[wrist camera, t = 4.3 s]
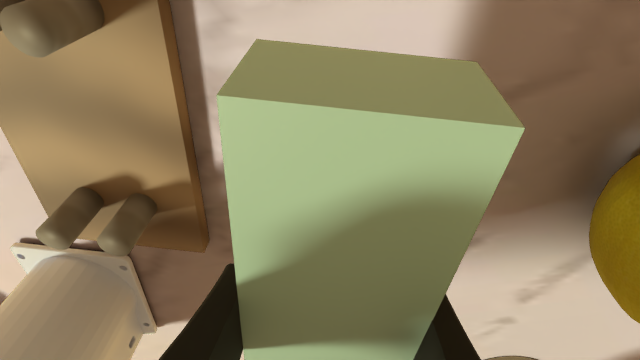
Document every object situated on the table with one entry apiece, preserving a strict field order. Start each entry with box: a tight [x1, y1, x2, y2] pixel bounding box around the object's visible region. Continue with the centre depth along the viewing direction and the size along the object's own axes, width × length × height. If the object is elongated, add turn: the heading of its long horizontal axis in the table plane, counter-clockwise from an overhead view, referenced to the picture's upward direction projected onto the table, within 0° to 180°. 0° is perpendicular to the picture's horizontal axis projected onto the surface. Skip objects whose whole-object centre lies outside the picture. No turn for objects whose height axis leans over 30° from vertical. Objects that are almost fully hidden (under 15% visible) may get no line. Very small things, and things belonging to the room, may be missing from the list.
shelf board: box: [216, 39, 525, 360], centre depth 11 cm, size 14×5×3 cm, turn 176°
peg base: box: [0, 0, 209, 257], centre depth 16 cm, size 17×9×4 cm, turn 176°
